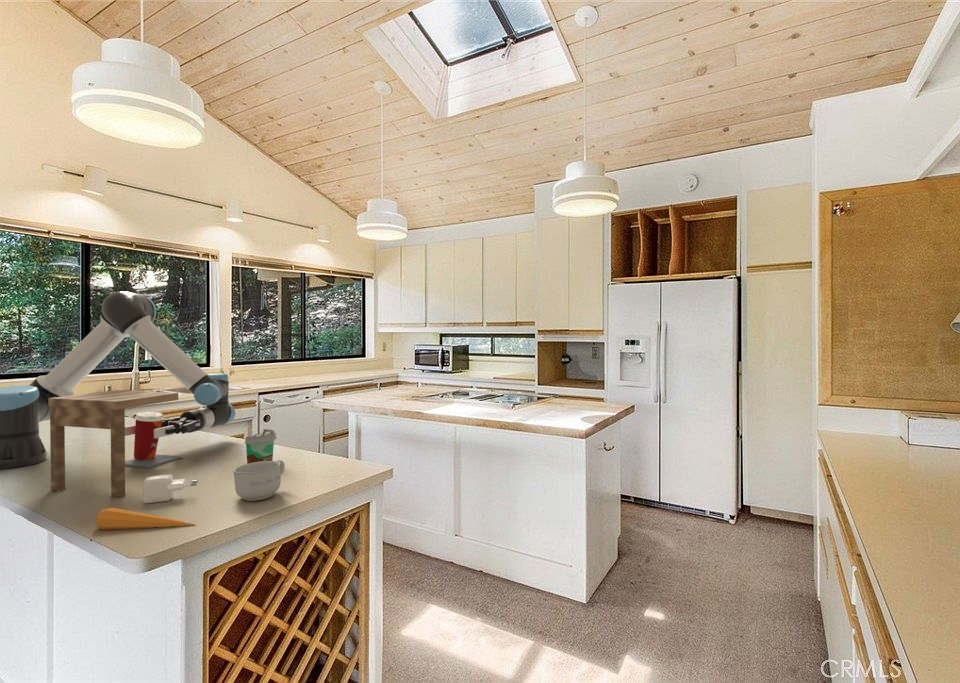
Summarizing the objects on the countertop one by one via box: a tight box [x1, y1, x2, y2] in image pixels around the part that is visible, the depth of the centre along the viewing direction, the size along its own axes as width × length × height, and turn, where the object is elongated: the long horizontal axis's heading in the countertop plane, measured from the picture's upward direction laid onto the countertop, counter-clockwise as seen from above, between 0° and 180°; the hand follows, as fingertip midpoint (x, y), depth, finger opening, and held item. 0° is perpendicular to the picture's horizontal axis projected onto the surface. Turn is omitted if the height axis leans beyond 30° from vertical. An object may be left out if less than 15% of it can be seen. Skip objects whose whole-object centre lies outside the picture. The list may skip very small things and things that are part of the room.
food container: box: [244, 428, 277, 464], centre depth 149 cm, size 12×6×10 cm, turn 179°
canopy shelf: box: [48, 389, 179, 499], centre depth 130 cm, size 22×18×24 cm
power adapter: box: [142, 474, 199, 504], centre depth 118 cm, size 11×5×6 cm, turn 115°
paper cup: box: [133, 411, 165, 460], centre depth 153 cm, size 8×8×14 cm
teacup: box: [232, 459, 286, 502], centre depth 122 cm, size 14×11×8 cm
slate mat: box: [125, 454, 183, 469], centre depth 152 cm, size 12×12×1 cm
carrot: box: [95, 507, 196, 531], centre depth 102 cm, size 20×4×4 cm, turn 95°
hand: (139, 432), depth 148 cm, fingers open, 11 cm apart
